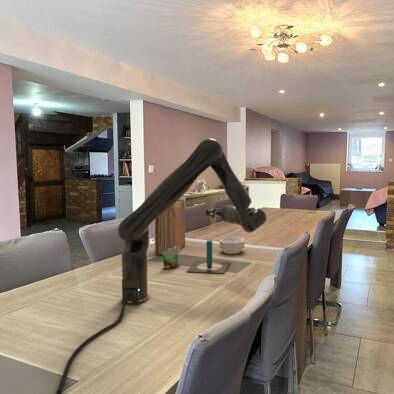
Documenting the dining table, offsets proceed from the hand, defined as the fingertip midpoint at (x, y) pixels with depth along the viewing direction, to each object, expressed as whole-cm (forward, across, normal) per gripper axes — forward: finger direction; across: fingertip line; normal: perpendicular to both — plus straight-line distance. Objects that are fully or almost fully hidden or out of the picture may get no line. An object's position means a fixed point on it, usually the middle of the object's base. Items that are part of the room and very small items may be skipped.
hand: (215, 210), depth 159 cm
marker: (+11, -2, +31) cm, 33 cm away
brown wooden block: (+58, +1, +32) cm, 66 cm away
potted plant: (+25, +12, +32) cm, 42 cm away
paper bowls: (+34, -29, +32) cm, 55 cm away
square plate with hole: (+13, -4, +32) cm, 35 cm away
